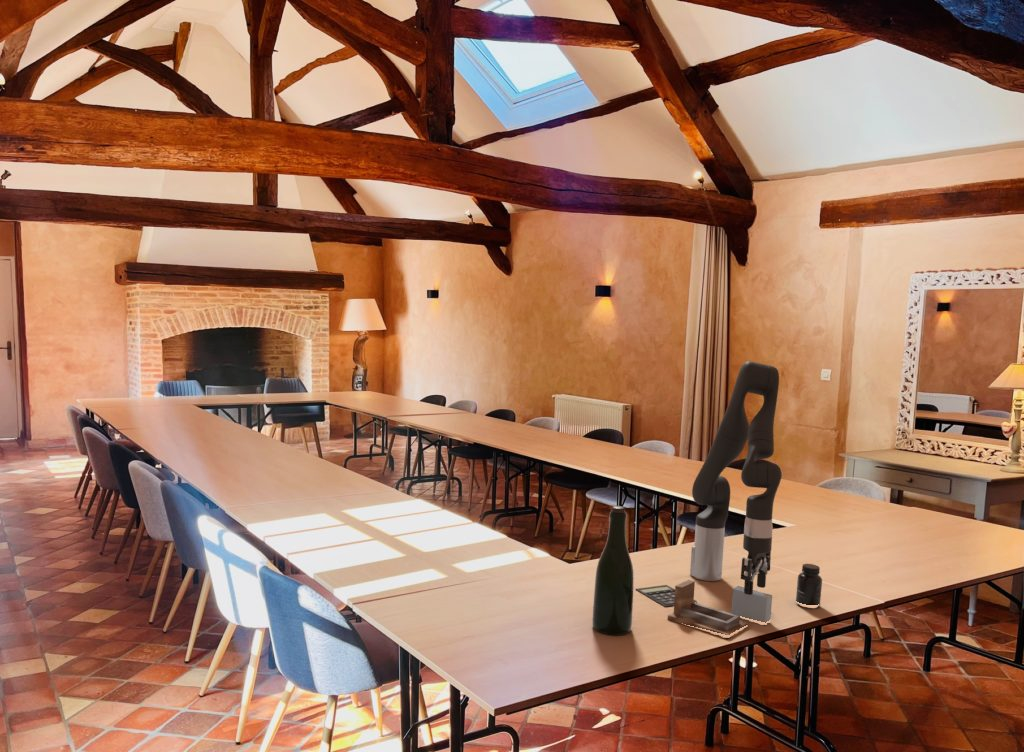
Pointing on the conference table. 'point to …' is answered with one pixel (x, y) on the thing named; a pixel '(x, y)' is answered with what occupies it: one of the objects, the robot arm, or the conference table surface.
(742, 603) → the gray rectangular block
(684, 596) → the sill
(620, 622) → the dark green wine bottle
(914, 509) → the conference table surface
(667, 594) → the calculator
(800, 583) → the supplement bottle
